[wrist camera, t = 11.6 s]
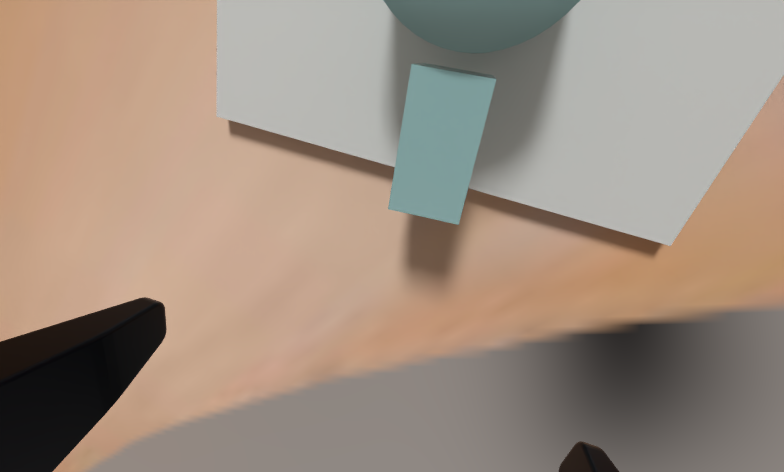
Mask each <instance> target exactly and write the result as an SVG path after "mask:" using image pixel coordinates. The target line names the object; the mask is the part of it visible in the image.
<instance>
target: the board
mask: <svg viewBox="0 0 784 472" xmlns="http://www.w3.org/2000/svg"><path fill="white" fill-rule="evenodd" d="M415 63H428V64H434V65H440V66H445V67H451V68H456V69H462V70H468V71H473V72H479V73H485V74H490V75H494V77H495V78H496V83H495V87H494V91H493V94H492V98H491V102H490V106H489V110H488V114H487V118H486V121H485V125H484V129H483V133H482V137H481V141H480V144H479V148H478V152H477V156H476V160H475V164H474V167H473V171H472V175H471V179H470V183H469V187H468V188H469V189H473V190H476V191H480V192H483V193H487V194H490V195H494V196H497V197H501V198H504V199H508V200H511V201H515V202H518V203H522V204H525V205H529V206H532V207H536V208H539V209H543V210H546V211H550V212H553V213H557V214H560V215H564V216H567V217H571V218H574V219H578V220H581V221H585V222H588V223H592V224H595V225H599V226H602V227H606V228H609V229H613V230H616V231H620V232H623V233H627V234H630V235H634V236H637V237H641V238H644V239H648V240H651V241H655V242H658V243H662V244H665V245H669V246H671V244H672V243H673V241H674V240H675V238H676V237H677V235H678V234H679V232H680V231H681V229H682V228H683V226H684V225H685V223H686V222H687V220H688V219H689V217H690V216H691V214H692V213H693V211H694V210H695V208H696V207H697V205H698V204H699V202H700V200H701V199H702V197H703V196H704V194H705V193H706V191H707V190H708V188H709V187H710V185H711V184H712V182H713V181H714V179H715V178H716V176H717V175H718V173H719V172H720V170H721V169H722V167H723V166H724V164H725V163H726V161H727V160H728V158H729V157H730V155H731V154H732V152H733V151H734V149H735V148H736V146H737V145H738V143H739V142H740V140H741V139H742V137H743V136H744V134H745V132H746V131H747V129H748V128H749V126H750V125H751V123H752V122H753V120H754V119H755V117H756V116H757V114H758V113H759V111H760V110H761V108H762V107H763V105H764V104H765V102H766V101H767V99H768V98H769V96H770V95H771V93H772V92H773V90H774V89H775V87H776V86H777V84H778V83H779V81H780V80H781V78H782V77H783V75H784V0H580V1H579V2H578V3H577V4H576V5H575V6H574V7H573V8H572V9H571V10H570V11H569V12H568V13H567V14H566V15H565V16H564V17H562V18H561V19H560V20H559V21H557V22H556V23H555V24H554V25H552V26H551V27H550V28H548V29H547V30H545V31H543V32H542V33H540V34H539V35H537V36H535V37H533V38H531V39H529V40H527V41H525V42H523V43H521V44H518V45H515V46H512V47H509V48H506V49H503V50H498V51H494V52H488V53H477V54H472V53H462V52H456V51H452V50H448V49H444V48H441V47H438V46H436V45H434V44H431V43H429V42H427V41H425V40H424V39H422V38H420V37H419V36H417V35H415V34H414V33H413V32H412V31H410V30H409V29H408V28H407V27H405V26H404V25H403V24H402V23H401V22H400V21H399V20H398V19H397V18H396V16H395V15H394V14H393V13H392V12H391V10H390V9H389V8H388V6H387V5H386V3H385V2H384V1H383V0H217V117H220V118H224V119H227V120H231V121H234V122H238V123H241V124H245V125H248V126H252V127H255V128H259V129H262V130H266V131H269V132H273V133H276V134H280V135H283V136H287V137H290V138H294V139H297V140H301V141H304V142H308V143H311V144H315V145H318V146H322V147H325V148H329V149H332V150H336V151H339V152H343V153H346V154H350V155H353V156H357V157H360V158H364V159H367V160H371V161H374V162H378V163H381V164H385V165H388V166H392V167H395V164H396V157H397V151H398V145H399V139H400V133H401V126H402V120H403V114H404V108H405V102H406V95H407V89H408V83H409V77H410V71H411V64H415Z"/></svg>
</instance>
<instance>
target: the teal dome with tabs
mask: <svg viewBox="0 0 784 472" xmlns="http://www.w3.org/2000/svg"><path fill="white" fill-rule="evenodd" d="M383 1H384V2H385V3H386V5H387V6H388V8H389V9H390V10H391V12H392V13H393V14H394V15H395V16H396V18H397V19H398V20H399V21H400V22H401V23H402V24H403V25H404V26H405V27H407V28H408V29H409V30H410V31H412V32H413V33H414V34H415V35H417V36H419V37H420V38H422V39H424V40H425V41H427V42H429V43H431V44H434V45H436V46H438V47H441V48H444V49H448V50H452V51H456V52H462V53H472V54H477V53H488V52H494V51H498V50H503V49H506V48H509V47H512V46H515V45H518V44H521V43H523V42H525V41H527V40H529V39H531V38H533V37H535V36H537V35H539V34H540V33H542V32H543V31H545V30H547V29H548V28H550V27H551V26H552V25H554V24H555V23H556V22H557V21H559V20H560V19H561V18H562V17H564V16H565V15H566V14H567V13H568V12H569V11H570V10H571V9H572V8H573V7H574V6H575V5H576V4H577V3H578V2H579V1H580V0H383ZM495 83H496V78H495V77H494V75H490V74H485V73H479V72H473V71H468V70H462V69H456V68H451V67H445V66H440V65H434V64H428V63H415V64H411V71H410V77H409V83H408V89H407V95H406V102H405V108H404V114H403V120H402V126H401V133H400V139H399V145H398V151H397V157H396V164H395V170H394V176H393V182H392V188H391V195H390V201H389V207H388V209H390V210H395V211H399V212H404V213H408V214H413V215H417V216H421V217H426V218H430V219H435V220H439V221H444V222H448V223H453V224H457V225H459V221H460V217H461V214H462V210H463V206H464V202H465V198H466V194H467V191H468V187H469V183H470V179H471V175H472V171H473V167H474V164H475V160H476V156H477V152H478V148H479V144H480V141H481V137H482V133H483V129H484V125H485V121H486V118H487V114H488V110H489V106H490V102H491V98H492V94H493V91H494V87H495Z"/></svg>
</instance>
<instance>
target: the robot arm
mask: <svg viewBox="0 0 784 472" xmlns="http://www.w3.org/2000/svg"><path fill="white" fill-rule="evenodd" d="M165 335H166V317H165V307H164V305H163V303H161V302H159V301H156V300H153V299H150V298H139V299H136V300H133V301H129V302H126V303H123V304H120V305H117V306H113V307H110V308H107V309H104V310H101V311H97V312H94V313H91V314H88V315H85V316H81V317H78V318H75V319H72V320H69V321H65V322H62V323H59V324H56V325H52V326H49V327H46V328H43V329H40V330H36V331H33V332H30V333H27V334H24V335H20V336H17V337H14V338H11V339H8V340H4V341H1V342H0V472H52V471H53V470H54V469H55V468H56V467H57V466H58V465H59V464H60V463H61V462H62V461H63V459H64V458H65V457H66V456H67V455H68V454H69V453H70V452H71V451H72V450H73V449H74V447H75V446H76V445H77V444H78V443H79V442H80V441H81V440H82V439H83V438H84V437H85V436H86V434H87V433H88V432H89V431H90V430H91V429H92V428H93V427H94V426H95V425H96V424H97V422H98V421H99V420H100V419H101V418H102V417H103V416H104V415H105V414H106V413H107V411H108V410H109V409H110V408H111V407H112V406H113V405H114V404H115V402H116V401H117V400H118V399H119V397H120V396H121V395H122V394H123V392H124V391H125V390H126V388H127V387H128V386H129V385H130V383H131V382H132V381H133V379H134V378H135V377H136V375H137V374H138V373H139V371H140V370H141V369H142V368H143V366H144V365H145V364H146V362H147V361H148V360H149V358H150V357H151V356H152V354H153V353H154V352H155V351H156V349H157V348H158V347H159V345H160V344H161V343H162V341H163V339H164V338H165ZM559 472H619V471H618V469H617V468H616V467H615V466H614V464H613V463H612V461H611V460H610V459H609V458H608V456H607V455H606V453H605V452H604V451H603V450H602V449H601V448H599V447H597V446H594V445H591V444H588V443H585V442H578V443H576V444H575V445H574V447H573V448H572V450H571V451H570V452H569V454H568V455H567V457H566V458H565V459H564V461H563V462H562V463H561V466H560V468H559Z"/></svg>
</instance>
